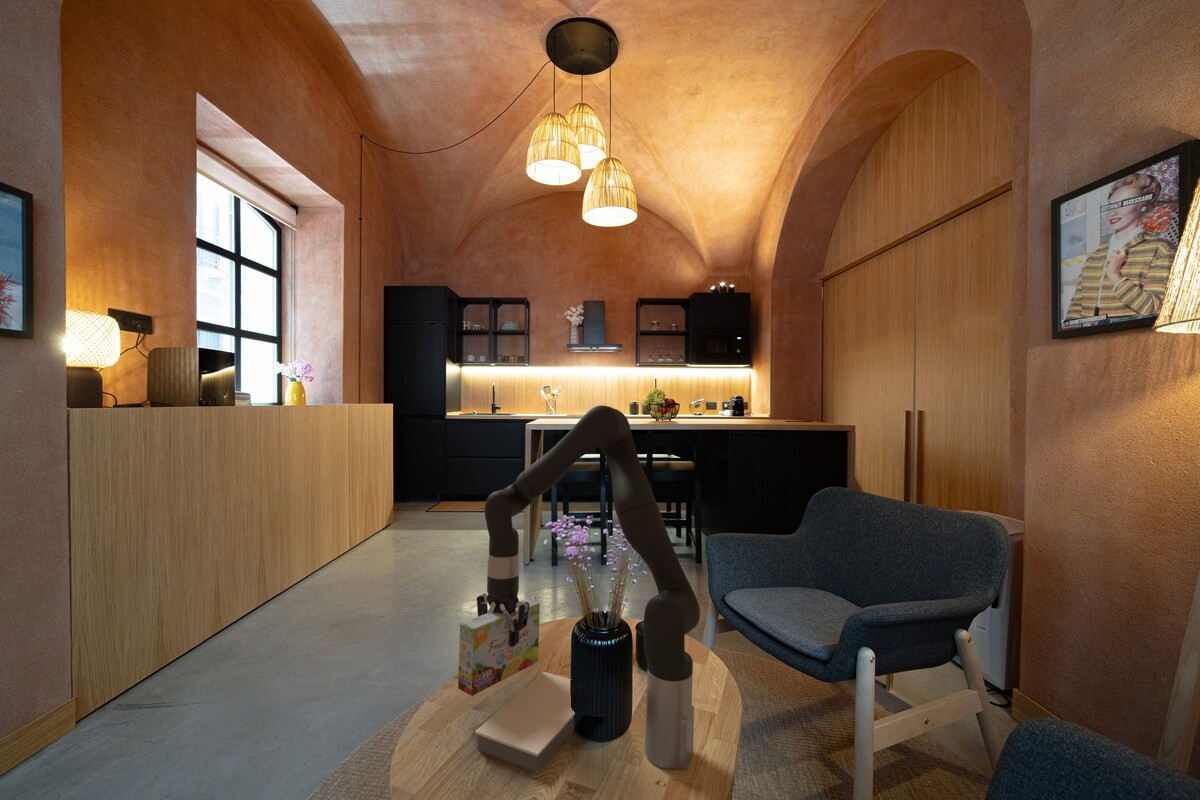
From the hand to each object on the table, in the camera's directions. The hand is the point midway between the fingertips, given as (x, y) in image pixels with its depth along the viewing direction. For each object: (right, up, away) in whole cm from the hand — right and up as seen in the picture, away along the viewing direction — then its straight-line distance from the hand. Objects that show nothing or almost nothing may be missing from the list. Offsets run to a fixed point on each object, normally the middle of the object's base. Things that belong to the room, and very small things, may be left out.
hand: (501, 642), depth 125 cm
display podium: (+10, -14, -10) cm, 20 cm away
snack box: (0, -8, 0) cm, 8 cm away
